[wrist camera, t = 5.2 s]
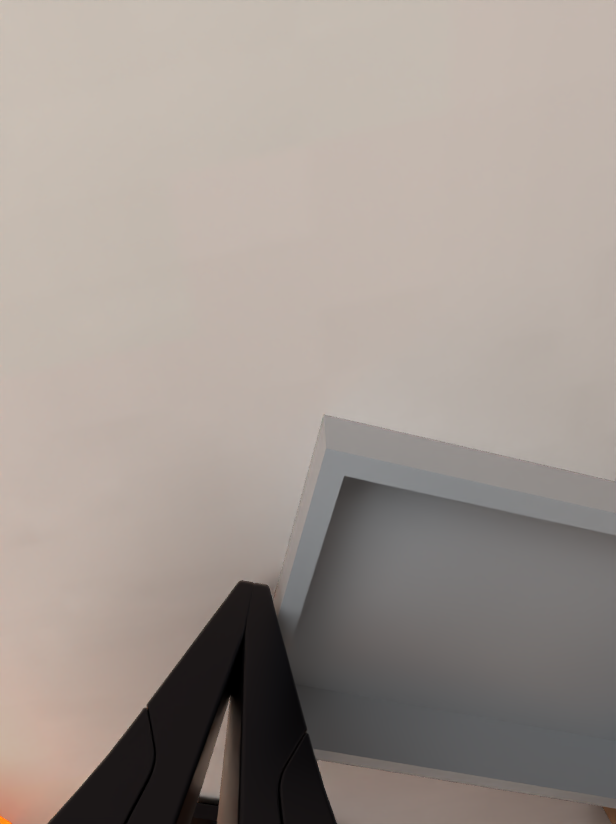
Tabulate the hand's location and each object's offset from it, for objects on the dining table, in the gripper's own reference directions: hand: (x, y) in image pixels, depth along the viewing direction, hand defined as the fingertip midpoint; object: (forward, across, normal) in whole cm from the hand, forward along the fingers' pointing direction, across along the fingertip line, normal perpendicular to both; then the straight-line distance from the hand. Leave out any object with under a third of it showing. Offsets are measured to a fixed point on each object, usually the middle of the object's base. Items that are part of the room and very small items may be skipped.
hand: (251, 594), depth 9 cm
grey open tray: (+1, -8, 0) cm, 8 cm away
